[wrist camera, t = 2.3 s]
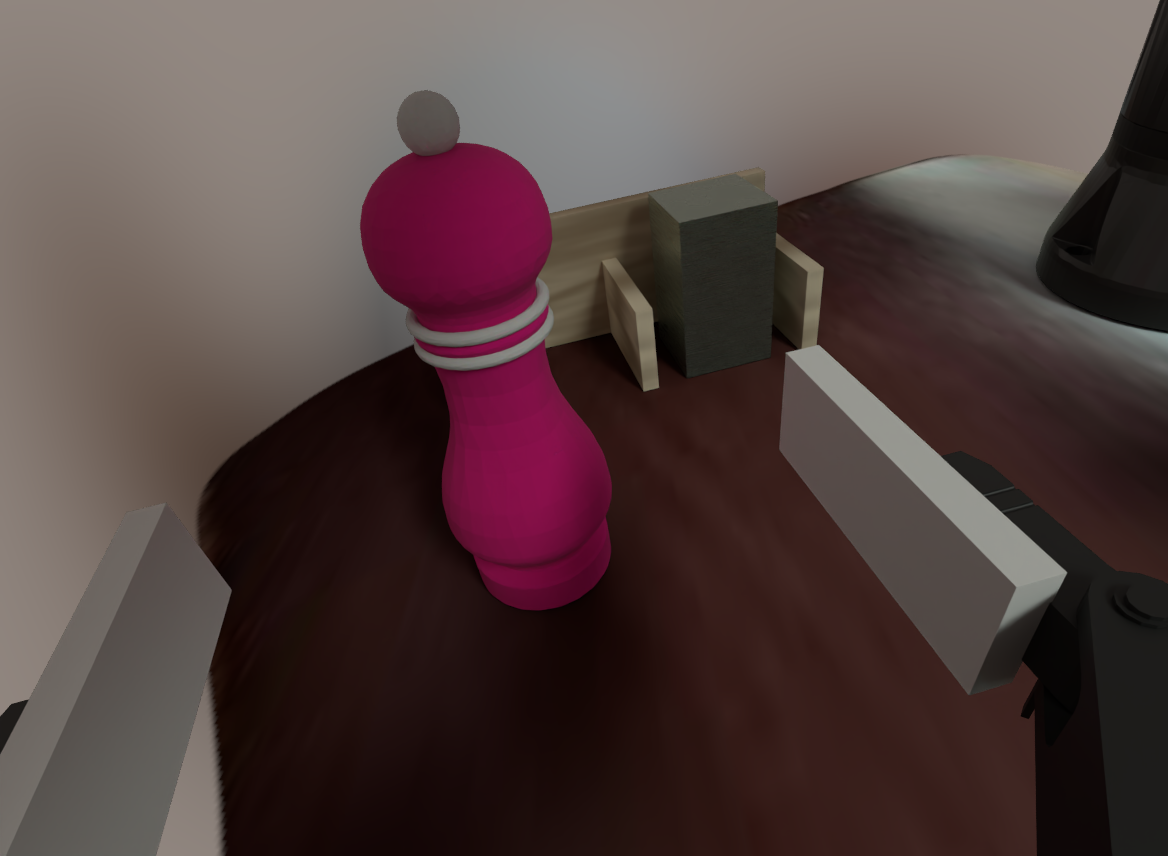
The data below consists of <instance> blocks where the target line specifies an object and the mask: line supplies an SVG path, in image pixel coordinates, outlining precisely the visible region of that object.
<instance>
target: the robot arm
mask: <svg viewBox="0 0 1168 856" xmlns="http://www.w3.org/2000/svg"><path fill="white" fill-rule="evenodd" d="M1036 269H1037V273H1038V275H1039V277H1040V279H1041V280H1042V281H1043V283H1044V284H1045V285H1046V286H1047V287H1048V288H1050V289H1051V290H1052V291H1053V292H1055V293H1056V294H1058V295H1059V296H1061V297H1062V298H1064V299H1066V300H1068V301H1070V302H1071V303H1073V304H1076V305H1078V306H1080V307H1082V308H1085V309H1087V310H1089V311H1092V312H1095V313H1097V314H1100V315H1103V316H1106V317H1109V318H1113V319H1116V320H1120V321H1123V322H1127V323H1131V324H1135V325H1140V326H1144V327H1149V328H1154V329H1160V330H1166V331H1168V0H1160V1H1159V4H1158V7H1157V10H1156V13H1155V15H1154V18H1153V21H1152V24H1151V27H1150V29H1149V32H1148V35H1147V38H1146V41H1145V43H1144V46H1143V49H1142V52H1141V55H1140V58H1139V60H1138V63H1137V66H1136V69H1135V72H1134V74H1133V77H1132V80H1131V83H1130V85H1129V88H1128V91H1127V94H1126V97H1125V99H1124V102H1123V105H1122V108H1121V111H1120V114H1119V117H1118V120H1117V123H1116V126H1115V129H1114V131H1113V134H1112V137H1111V139H1110V142H1109V145H1108V147H1107V149H1106V150H1105V152H1104V153H1103V155H1102V156H1101V157H1100V159H1099V160H1098V162H1097V163H1096V164H1095V166H1094V167H1093V169H1092V170H1091V171H1090V173H1089V174H1088V175H1087V177H1086V178H1085V179H1084V181H1083V182H1082V184H1081V185H1080V186H1079V188H1078V189H1077V190H1076V192H1075V193H1074V194H1073V196H1072V197H1071V199H1070V200H1069V201H1068V203H1067V204H1066V205H1065V207H1064V208H1063V210H1062V211H1061V212H1060V214H1059V215H1058V216H1057V218H1056V219H1055V221H1054V222H1053V223H1052V225H1051V226H1050V228H1049V229H1048V231H1047V233H1046V235H1045V238H1044V241H1043V244H1042V247H1041V250H1040V254H1039V257H1038V260H1037V264H1036ZM779 450H780V451H781V452H782V454H783V455H784V456H785V458H786V459H787V460H788V461H789V463H790V464H791V465H792V467H793V468H794V469H795V470H796V472H797V473H798V474H799V476H800V477H801V478H802V480H803V481H804V482H805V483H806V485H807V486H808V487H809V489H810V490H811V491H812V492H813V494H814V495H815V496H816V498H817V499H818V500H819V502H820V503H821V504H822V505H823V507H824V508H825V509H826V511H827V512H828V513H829V515H830V516H831V517H832V518H833V520H834V521H835V522H836V524H837V525H838V526H839V527H840V529H841V530H842V531H843V533H844V534H845V535H846V537H847V538H848V539H849V540H850V542H851V543H852V544H853V546H854V547H855V548H856V550H857V551H858V552H859V553H860V555H861V556H862V557H863V559H864V560H865V561H866V562H867V564H868V565H869V566H870V568H871V569H872V570H873V572H874V573H875V574H876V575H877V577H878V578H879V579H880V581H881V582H882V583H883V584H884V586H885V587H886V588H887V590H888V591H889V592H890V594H891V595H892V596H893V597H894V599H895V600H896V601H897V603H898V604H899V605H900V607H901V608H902V609H903V610H904V612H905V613H906V614H907V616H908V617H909V618H910V619H911V621H912V622H913V623H914V625H915V626H916V627H917V629H918V630H919V631H920V632H921V634H922V635H923V636H924V638H925V639H926V640H927V642H928V643H929V644H930V645H931V647H932V648H933V649H934V651H935V652H936V653H937V654H938V656H939V657H940V658H941V660H942V661H943V662H944V664H945V665H946V666H947V667H948V669H949V670H950V671H951V673H952V674H953V675H954V676H955V678H956V679H957V680H958V682H959V683H960V684H961V686H962V687H963V688H964V689H965V691H966V692H967V693H968V695H972V694H975V693H978V692H982V691H985V690H988V689H992V688H995V687H998V686H1001V685H1005V684H1008V683H1011V682H1012V681H1013V679H1014V677H1015V675H1016V673H1017V671H1018V669H1019V667H1020V665H1021V663H1022V661H1023V662H1024V663H1025V664H1026V665H1027V666H1028V667H1029V668H1030V670H1031V671H1032V672H1033V673H1034V674H1035V675H1036V676H1037V678H1038V680H1037V682H1036V684H1035V686H1034V687H1033V689H1032V691H1031V693H1030V695H1029V697H1028V698H1027V700H1026V702H1025V704H1024V706H1023V710H1022V713H1021V717H1024V718H1027V719H1029V718H1030V716H1031V714H1032V712H1033V711H1034V709H1035V765H1036V827H1037V856H1168V584H1167V583H1165V582H1163V581H1161V580H1158V579H1155V578H1152V577H1149V576H1146V575H1143V574H1140V573H1132V572H1123V571H1116V570H1114V569H1113V568H1112V567H1110V566H1109V565H1108V564H1106V563H1105V562H1104V561H1103V560H1102V559H1100V558H1099V557H1098V556H1097V555H1096V554H1095V553H1093V552H1092V551H1091V550H1090V549H1089V548H1087V547H1086V546H1085V545H1084V544H1083V543H1082V542H1080V541H1079V540H1078V539H1077V538H1076V537H1075V536H1073V535H1072V534H1071V533H1070V532H1069V531H1068V530H1066V529H1065V528H1064V527H1063V526H1062V525H1060V524H1059V523H1058V522H1057V521H1056V520H1055V519H1053V518H1052V517H1051V516H1050V515H1049V514H1048V513H1046V512H1045V511H1044V510H1043V509H1042V508H1041V507H1039V506H1038V505H1037V506H1035V505H1034V504H1033V501H1032V500H1031V499H1030V498H1029V497H1028V496H1026V495H1025V494H1024V493H1023V492H1022V491H1021V490H1019V489H1015V488H1014V485H1013V484H1012V483H1011V482H1010V481H1009V480H1008V479H1006V478H1005V477H1004V476H1003V475H1002V474H1001V473H999V472H998V471H997V470H996V469H995V468H994V467H992V466H991V465H989V464H987V463H985V462H983V461H981V460H979V459H977V458H975V457H973V456H970V455H968V454H966V453H964V452H962V451H958V452H955V453H951V454H947V455H943V456H939V455H938V454H937V453H936V452H935V451H934V450H933V449H932V448H931V447H930V446H929V445H927V444H926V443H925V442H924V441H923V440H922V439H921V438H920V437H919V436H918V435H917V434H915V433H914V432H913V431H912V430H911V429H910V428H909V427H908V426H907V425H906V424H904V423H903V422H902V421H901V420H900V419H899V418H898V417H897V416H896V415H895V414H894V413H892V412H891V411H890V410H889V409H888V408H887V407H886V406H885V405H884V404H883V403H882V402H880V401H879V400H878V399H877V398H876V397H875V396H874V395H873V394H872V393H871V392H870V391H868V390H867V389H866V388H865V387H864V386H863V385H862V384H861V383H860V382H859V381H858V380H856V379H855V378H854V377H853V376H852V375H851V374H850V373H849V372H848V371H847V370H846V369H844V368H843V367H842V366H841V365H840V364H839V363H838V362H837V361H836V360H835V359H834V358H832V357H831V356H830V355H829V354H828V353H827V352H826V351H825V350H824V349H823V348H822V347H820V346H819V345H816V346H812V347H808V348H804V349H800V350H795V351H791V352H787V353H786V359H785V374H784V389H783V403H782V418H781V432H780V447H779ZM231 591H232V590H231V588H230V587H229V586H228V584H227V583H226V582H225V580H224V579H223V578H222V576H221V575H220V574H219V572H218V571H217V570H216V568H215V567H214V566H213V564H212V563H211V562H210V560H209V559H208V558H207V556H206V555H205V554H204V552H203V551H202V550H201V548H200V547H199V545H198V544H197V543H196V541H195V540H194V539H193V537H192V536H191V535H190V533H189V532H188V531H187V529H186V528H185V527H184V525H183V524H182V523H181V521H180V520H179V519H178V517H177V516H176V515H175V513H174V512H173V511H172V509H171V508H170V507H169V505H168V504H167V503H163V504H158V505H154V506H150V507H146V508H142V509H138V510H134V511H130V512H127V513H126V514H125V516H124V518H123V520H122V522H121V524H120V526H119V528H118V530H117V532H116V534H115V535H114V538H113V539H112V541H111V543H110V545H109V547H108V549H107V551H106V553H105V555H104V557H103V558H102V561H101V562H100V564H99V566H98V568H97V570H96V572H95V574H94V576H93V578H92V580H91V582H90V583H89V585H88V587H87V589H86V591H85V593H84V595H83V597H82V599H81V601H80V603H79V605H78V606H77V609H76V610H75V612H74V614H73V616H72V618H71V620H70V622H69V624H68V626H67V628H66V629H65V632H64V633H63V635H62V637H61V639H60V641H59V643H58V645H57V647H56V649H55V651H54V653H53V654H52V656H51V658H50V660H49V662H48V664H47V666H46V668H45V670H44V672H43V674H42V676H41V678H40V679H39V681H38V683H37V685H36V687H35V689H34V691H33V693H32V695H31V697H30V699H29V700H25V701H21V702H18V703H14V704H11V705H10V706H9V707H8V709H7V710H6V711H5V712H4V713H3V714H2V715H1V716H0V856H156V853H157V850H158V846H159V843H160V839H161V836H162V832H163V829H164V825H165V822H166V818H167V815H168V812H169V808H170V804H171V801H172V798H173V794H174V791H175V787H176V784H177V780H178V777H179V773H180V770H181V766H182V763H183V759H184V755H185V752H186V748H187V745H188V741H189V738H190V735H191V731H192V727H193V724H194V720H195V717H196V713H197V710H198V707H199V703H200V700H201V696H202V692H203V689H204V686H205V682H206V679H207V675H208V672H209V668H210V665H211V661H212V658H213V654H214V651H215V647H216V644H217V640H218V637H219V633H220V630H221V626H222V623H223V619H224V616H225V612H226V609H227V605H228V602H229V598H230V595H231Z"/></svg>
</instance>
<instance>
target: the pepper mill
mask: <svg viewBox="0 0 1168 856" xmlns="http://www.w3.org/2000/svg"><path fill="white" fill-rule="evenodd" d="M397 127H398V131H399V133H400V135H401V138H402V140H403V142H404V143H405V144H406V146H407V147H408V148H409V149H410V150H412V151H413V153H411V154H408V155H406V156H404V157H402V158H401V159H399V160H397V161H396V162H394V163H393V164H391V165H390V166H389V167H388V168H386V169H385V170H384V171H383V172H382V173H381V174H380V176H379V177H378V178H377V179H376V181H375V182H374V183H373V184H372V186H371V188H370V190H369V192H368V194H367V197H366V199H365V201H364V204H363V206H362V214H361V222H360V230H361V238H362V246H363V251H364V254H365V257H366V260H367V263H368V266H369V269H370V270H371V272H372V274H373V276H374V278H375V279H376V281H377V283H378V284H379V285H380V287H381V288H382V289H383V291H384V292H386V293H387V294H388V295H389V296H391V297H392V298H393V299H395V300H396V301H398V302H400V303H402V304H403V305H405V306H407V307H408V308H409V310H408V312H407V316H406V326H407V328H408V330H409V332H410V333H411V334H412V335H413V336H414V338H415V339H414V347H415V351H416V353H417V354H418V356H419V357H420V358H421V359H422V360H423V361H425V362H426V363H428V364H430V365H432V366H434V367H435V369H436V371H437V373H438V375H439V378H440V380H441V382H442V384H443V388H444V392H445V396H446V400H447V404H448V408H449V412H450V435H449V441H448V446H447V451H446V455H445V461H444V466H443V472H442V499H443V505H444V509H445V513H446V516H447V520H448V523H449V526H450V529H451V531H452V532H453V534H454V536H455V538H456V539H457V540H458V541H459V542H460V544H461V545H462V546H463V547H464V548H465V549H466V550H468V551H469V552H470V553H472V554H473V555H474V558H475V561H476V564H477V567H478V569H479V572H480V574H481V577H482V580H483V582H484V584H485V586H486V588H487V589H488V591H489V592H490V593H491V594H492V595H493V596H494V597H496V598H497V599H498V600H500V601H501V602H503V603H505V604H507V605H509V606H512V607H515V608H519V609H522V610H546V609H552V608H558V607H561V606H563V605H566V604H568V603H570V602H573V601H575V600H577V599H579V598H580V597H582V596H583V595H584V594H586V593H587V592H588V591H589V590H591V589H592V588H593V587H594V586H595V585H596V584H597V582H598V581H599V580H600V579H601V577H602V576H603V574H604V573H605V571H606V569H607V567H608V564H609V561H610V555H611V544H610V538H609V532H608V526H607V521H606V517H605V516H606V513H607V511H608V509H609V505H610V501H611V492H612V483H611V478H610V474H609V470H608V467H607V463H606V459H605V457H604V454H603V452H602V450H601V448H600V446H599V444H598V443H597V441H596V439H595V437H594V435H593V434H592V432H591V431H590V429H589V428H588V427H587V426H586V424H585V423H584V422H583V421H582V419H581V418H580V417H579V416H578V415H577V413H576V412H575V411H574V410H573V409H572V407H571V406H570V405H569V403H568V402H567V401H566V399H565V398H564V396H563V395H562V394H561V392H560V390H559V388H558V386H557V384H556V382H555V380H554V378H553V376H552V374H551V371H550V367H549V363H548V359H547V355H546V349H545V338H546V337H547V336H548V335H549V333H550V331H551V329H552V327H553V323H554V315H553V311H552V310H551V308H550V306H549V305H548V301H549V290H548V287H547V286H546V284H545V283H544V282H543V281H542V280H541V279H539V278H538V275H539V273H540V272H541V270H542V268H543V266H544V265H545V263H546V261H547V258H548V256H549V253H550V250H551V244H552V226H551V219H550V215H549V211H548V207H547V204H546V202H545V199H544V197H543V194H542V192H541V190H540V188H539V186H538V184H537V182H536V181H535V179H534V178H533V177H532V175H531V174H530V173H529V172H528V170H527V169H526V168H525V167H524V166H523V165H522V164H520V163H519V162H518V161H517V160H515V159H514V158H512V157H511V156H509V155H507V154H506V153H504V152H501V151H499V150H497V149H495V148H492V147H488V146H483V145H479V144H470V143H457V140H458V138H459V133H460V125H459V117H458V115H457V112H456V110H455V108H454V107H453V105H452V104H451V103H450V102H449V100H448V99H446V98H445V97H444V96H442V95H441V94H438V93H436V92H432V91H428V90H424V91H419V92H414V93H412V94H411V95H409V96H408V97H407V98H406V99H405V100H404V101H403V103H402V104H401V106H400V108H399V112H398V116H397Z"/></svg>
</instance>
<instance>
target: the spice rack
mask: <svg viewBox="0 0 1168 856" xmlns="http://www.w3.org/2000/svg"><path fill="white" fill-rule="evenodd" d="M732 174H737V175H739V176H740V177H742V178H743V179H745V180H746V181H748V182H749V183H751V184H753V185H754V186H756V187H757V188H759V189H760V190H762V191H763V192H764V190H765V171H764V170H762V169H761V168H753V169H749V170H744V171H740V172H735V173H731V174H726V175H721V176H717V177H713V178H708V179H704V180H699V181H694V182H690V183H686V184H681V185H676V186H672V187H667V188H663V189H658V190H654V191H649V192H645V193H640V194H636V195H631V196H627V197H622V198H617V199H613V200H608V201H604V202H600V203H595V204H590V205H586V206H582V207H577V208H573V209H568V210H563V211H559V212H554V213H550V214H549V215H550V219H551V226H552V244H551V250H550V253H549V256H548V258H547V261H546V263H545V265H544V266H543V268H542V270H541V272H540V273H539V275H538V278H539V279H541V280H542V281H543V282H544V283H545V284H546V286H547V287H548V290H549V301H548V305H549V306H550V308H551V310H552V311H553V315H554V323H553V327H552V329H551V331H550V333H549V335H548V336H547V337H546V338H545V348H549V347H553V346H557V345H561V344H565V343H570V342H574V341H578V340H582V339H586V338H590V337H595V336H599V335H603V334H607V333H612V335H613V337H614V339H615V340H616V342H617V344H618V346H619V348H620V350H621V351H622V353H623V355H624V357H625V359H626V360H627V362H628V364H629V366H630V368H631V369H632V371H633V373H634V375H635V377H636V379H637V380H638V382H639V384H640V386H641V388H642V389H643V391H648V390H652V389H656V388H659V382H658V370H657V358H656V346H655V334H654V322H657V321H658V315H657V302H656V289H655V277H654V264H653V251H652V239H651V226H650V213H649V201H648V193H650V192H655V191H659V190H664V189H669V188H673V187H678V186H682V185H687V184H691V183H696V182H700V181H705V180H709V179H714V178H718V177H723V176H727V175H732ZM823 271H824V268H823V267H822V266H821V265H819V264H818V263H816V262H815V261H814V260H812V259H811V258H810V257H808V256H807V255H806V254H804V253H803V252H801V251H800V250H799V249H797V248H796V247H795V246H793V245H792V244H790V243H789V242H788V241H786V240H785V239H784V238H782V237H781V236H780V235H778V234H777V233H776V251H775V273H774V295H773V317H772V323H773V324H774V325H775V326H776V327H777V328H778V329H779V330H780V331H781V332H782V333H783V334H784V335H785V336H786V337H787V338H788V339H789V340H790V341H791V342H792V343H793V344H794V345H795V346H796V347H797V348H798V349H799V350H800V349H804V348H808V347H812V346H816V344H817V333H818V323H819V313H820V302H821V292H822V282H823Z"/></svg>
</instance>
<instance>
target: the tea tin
mask: <svg viewBox="0 0 1168 856" xmlns="http://www.w3.org/2000/svg"><path fill="white" fill-rule="evenodd" d="M648 201H649V213H650V226H651V239H652V251H653V264H654V277H655V289H656V302H657V315H658V327H659V337H660V339H661V340H662V342H663V343H664V345H665V346H666V348H667V349H668V351H669V352H670V354H671V355H672V357H673V358H674V360H675V361H676V363H677V364H678V366H679V367H680V369H681V370H682V371H683V373H684V374H685V376H686V377H687V378H690V377H694V376H698V375H702V374H706V373H710V372H714V371H718V370H722V369H726V368H730V367H734V366H738V365H742V364H746V363H750V362H754V361H758V360H762V359H766V358H770V357H771V338H772V317H773V295H774V273H775V251H776V229H777V207H778V201H777V200H776V199H774V198H773V197H771V196H770V195H768V194H767V193H765V192H763V191H762V190H760V189H759V188H757V187H756V186H754V185H753V184H751V183H749V182H748V181H746V180H745V179H743V178H742V177H740V176H739V175H737V174H732V175H727V176H723V177H718V178H714V179H709V180H705V181H700V182H696V183H691V184H687V185H682V186H678V187H673V188H669V189H664V190H659V191H655V192H650V193H648Z"/></svg>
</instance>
